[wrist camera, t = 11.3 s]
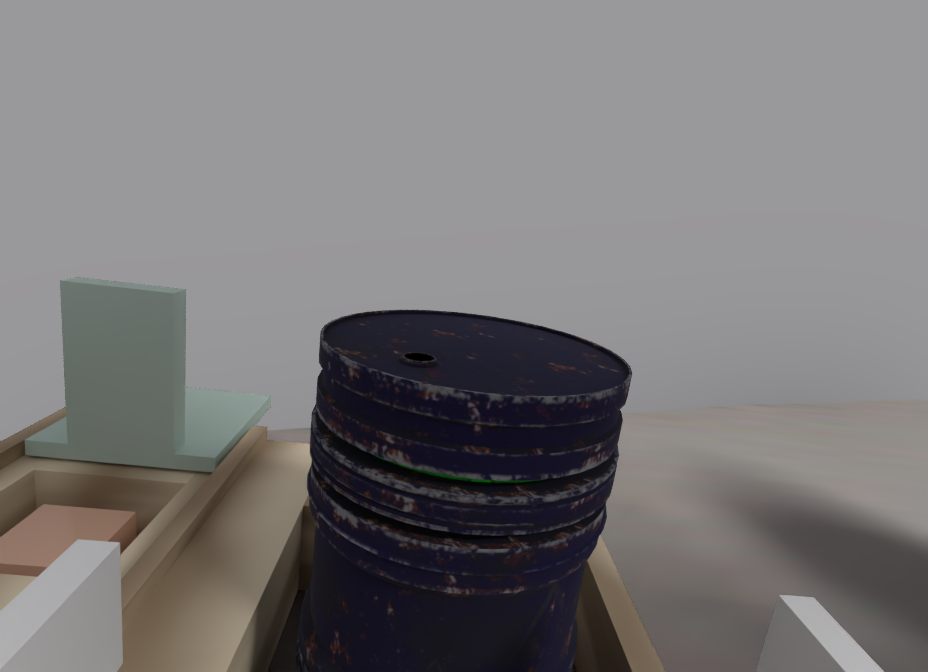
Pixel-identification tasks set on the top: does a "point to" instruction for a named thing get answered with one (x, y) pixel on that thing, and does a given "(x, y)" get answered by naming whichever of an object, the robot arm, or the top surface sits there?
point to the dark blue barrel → (455, 492)
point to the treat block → (60, 535)
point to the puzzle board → (242, 556)
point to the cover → (137, 384)
